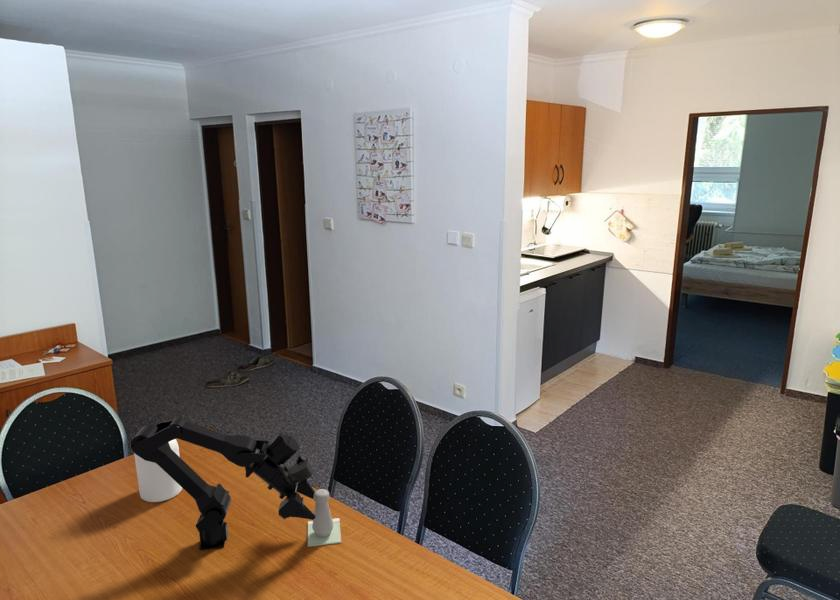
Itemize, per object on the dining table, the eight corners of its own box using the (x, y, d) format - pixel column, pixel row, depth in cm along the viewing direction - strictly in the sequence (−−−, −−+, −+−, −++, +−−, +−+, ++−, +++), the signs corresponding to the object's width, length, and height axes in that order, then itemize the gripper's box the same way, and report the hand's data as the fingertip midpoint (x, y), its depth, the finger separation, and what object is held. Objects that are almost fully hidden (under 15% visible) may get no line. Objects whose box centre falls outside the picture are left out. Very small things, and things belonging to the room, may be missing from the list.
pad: (307, 546, 155) (307, 544, 155) (307, 522, 165) (307, 521, 165) (341, 542, 157) (341, 541, 157) (339, 519, 167) (339, 517, 167)
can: (191, 488, 183) (185, 431, 178) (155, 508, 173) (147, 448, 168) (167, 477, 189) (160, 421, 184) (131, 495, 179) (123, 437, 174)
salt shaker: (332, 539, 158) (330, 497, 154) (311, 540, 157) (309, 498, 154) (334, 526, 163) (332, 485, 160) (314, 526, 163) (312, 486, 160)
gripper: (289, 472, 145) (334, 509, 148) (297, 437, 163) (337, 470, 166) (259, 501, 146) (304, 537, 150) (270, 463, 164) (311, 496, 168)
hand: (315, 508), depth 158 cm, fingers open, 9 cm apart
